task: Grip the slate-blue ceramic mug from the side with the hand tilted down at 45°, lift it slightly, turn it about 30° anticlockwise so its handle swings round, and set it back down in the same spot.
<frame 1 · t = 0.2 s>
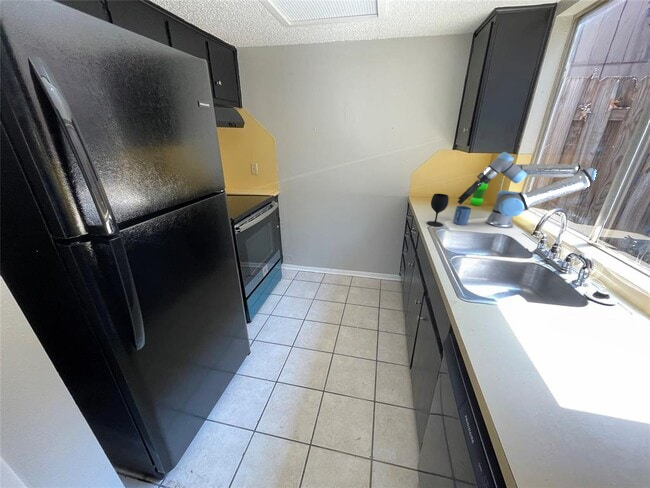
hand: (459, 201, 171), 15 cm above the worktop, tool tilted 35°, fingers open, 13 cm apart
wine glass: (434, 224, 174), on the worktop
plastic bottle: (475, 205, 225), on the worktop
mug: (459, 222, 178), on the worktop
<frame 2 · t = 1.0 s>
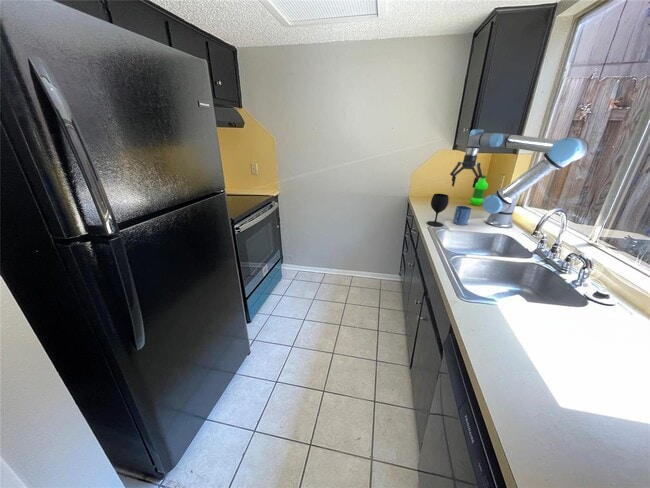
hand: (463, 186, 180), 23 cm above the worktop, tool pointing down, fingers open, 13 cm apart
nothing on the worktop moved.
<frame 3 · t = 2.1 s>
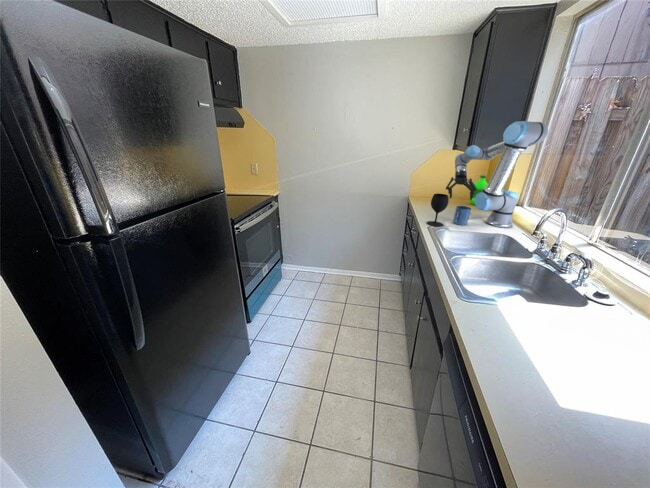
hand: (461, 198, 181), 15 cm above the worktop, tool tilted 45°, fingers open, 13 cm apart
nothing on the worktop moved.
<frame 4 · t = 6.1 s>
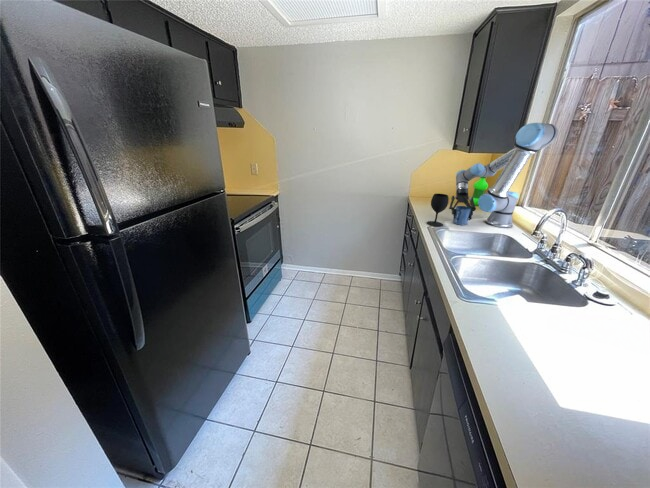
hand: (462, 218, 174), 4 cm above the worktop, tool tilted 45°, fingers closed on mug, 9 cm apart
mug: (459, 222, 178), on the worktop, touching gripper
everything else where it was.
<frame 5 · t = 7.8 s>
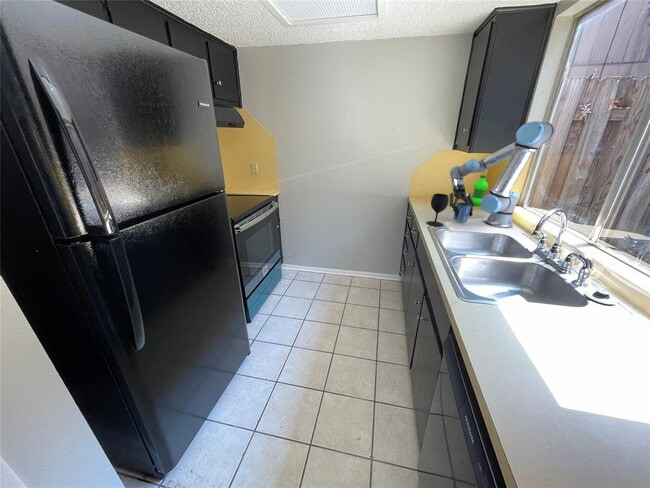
hand: (463, 215, 173), 6 cm above the worktop, tool tilted 45°, fingers closed on mug, 9 cm apart
mug: (460, 219, 178), point 2 cm above the worktop, touching gripper
everything else where it was.
when the fingers open (4 cm above the worktop, at t = 9.6 s): mug stays where it is, on the worktop.
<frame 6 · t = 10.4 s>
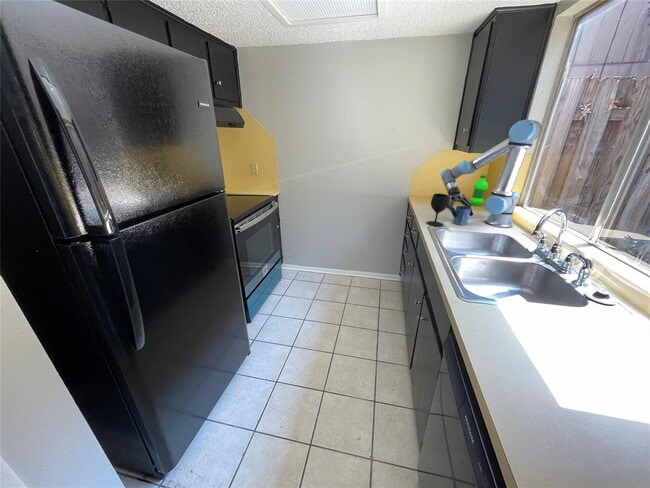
hand: (463, 216, 174), 5 cm above the worktop, tool tilted 45°, fingers open, 13 cm apart
mug: (459, 222, 178), on the worktop
everything else where it was.
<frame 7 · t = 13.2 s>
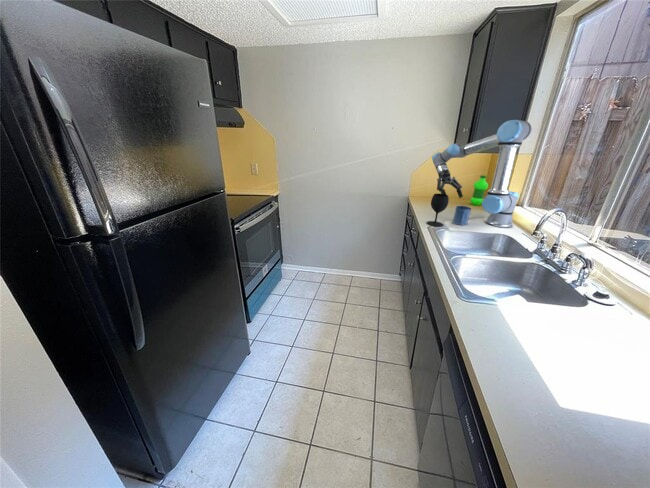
hand: (453, 197, 181), 15 cm above the worktop, tool tilted 45°, fingers open, 13 cm apart
nothing on the worktop moved.
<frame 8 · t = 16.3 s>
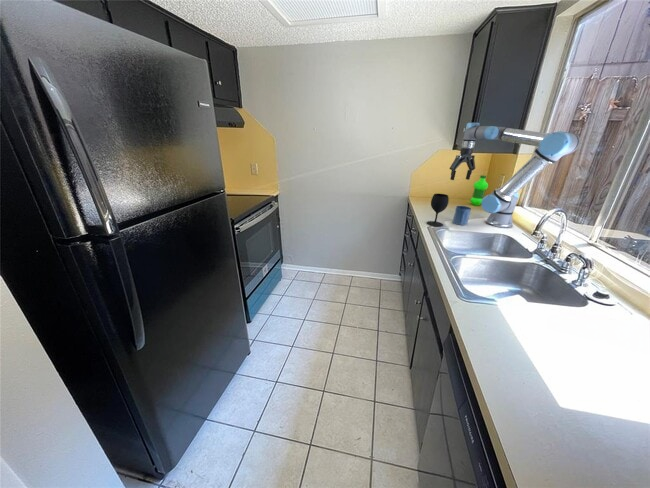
hand: (459, 179, 182), 27 cm above the worktop, tool pointing down, fingers open, 13 cm apart
nothing on the worktop moved.
at the end: mug moved 0.1 cm from its start; mug tilted 0°; the gripper is holding nothing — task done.
